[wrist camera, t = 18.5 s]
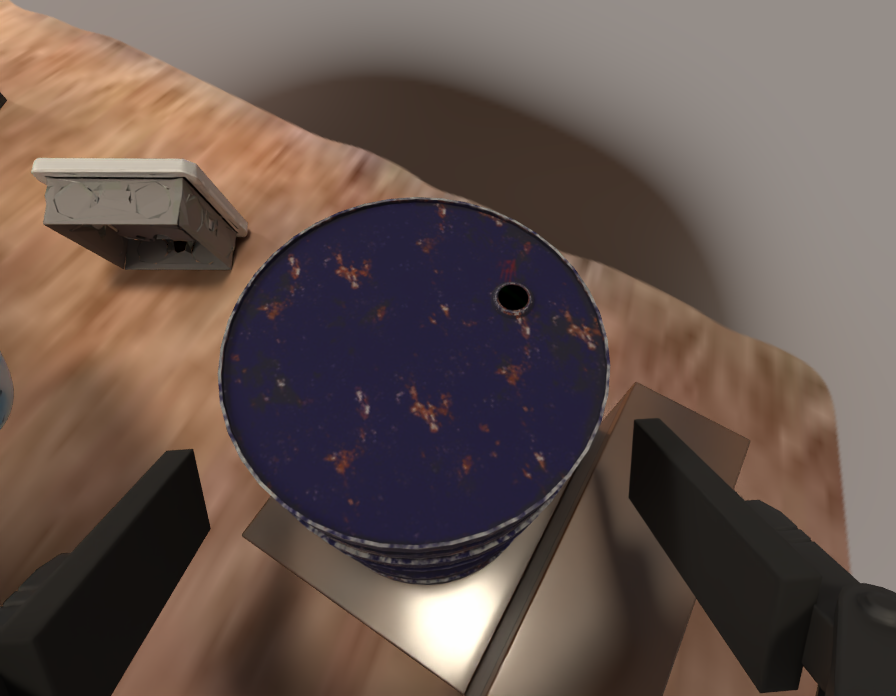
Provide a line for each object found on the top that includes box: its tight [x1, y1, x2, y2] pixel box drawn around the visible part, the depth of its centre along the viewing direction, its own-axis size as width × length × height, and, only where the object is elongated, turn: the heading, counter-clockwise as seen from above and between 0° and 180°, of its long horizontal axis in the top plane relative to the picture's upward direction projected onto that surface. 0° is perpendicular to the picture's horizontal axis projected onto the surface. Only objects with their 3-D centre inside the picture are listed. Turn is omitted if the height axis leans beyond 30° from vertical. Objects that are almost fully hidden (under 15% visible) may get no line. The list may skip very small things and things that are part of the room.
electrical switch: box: [31, 158, 248, 270], centre depth 33 cm, size 9×5×9 cm, turn 90°
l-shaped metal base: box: [242, 382, 750, 696], centre depth 25 cm, size 18×14×10 cm
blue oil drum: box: [218, 197, 610, 585], centre depth 19 cm, size 10×10×15 cm
